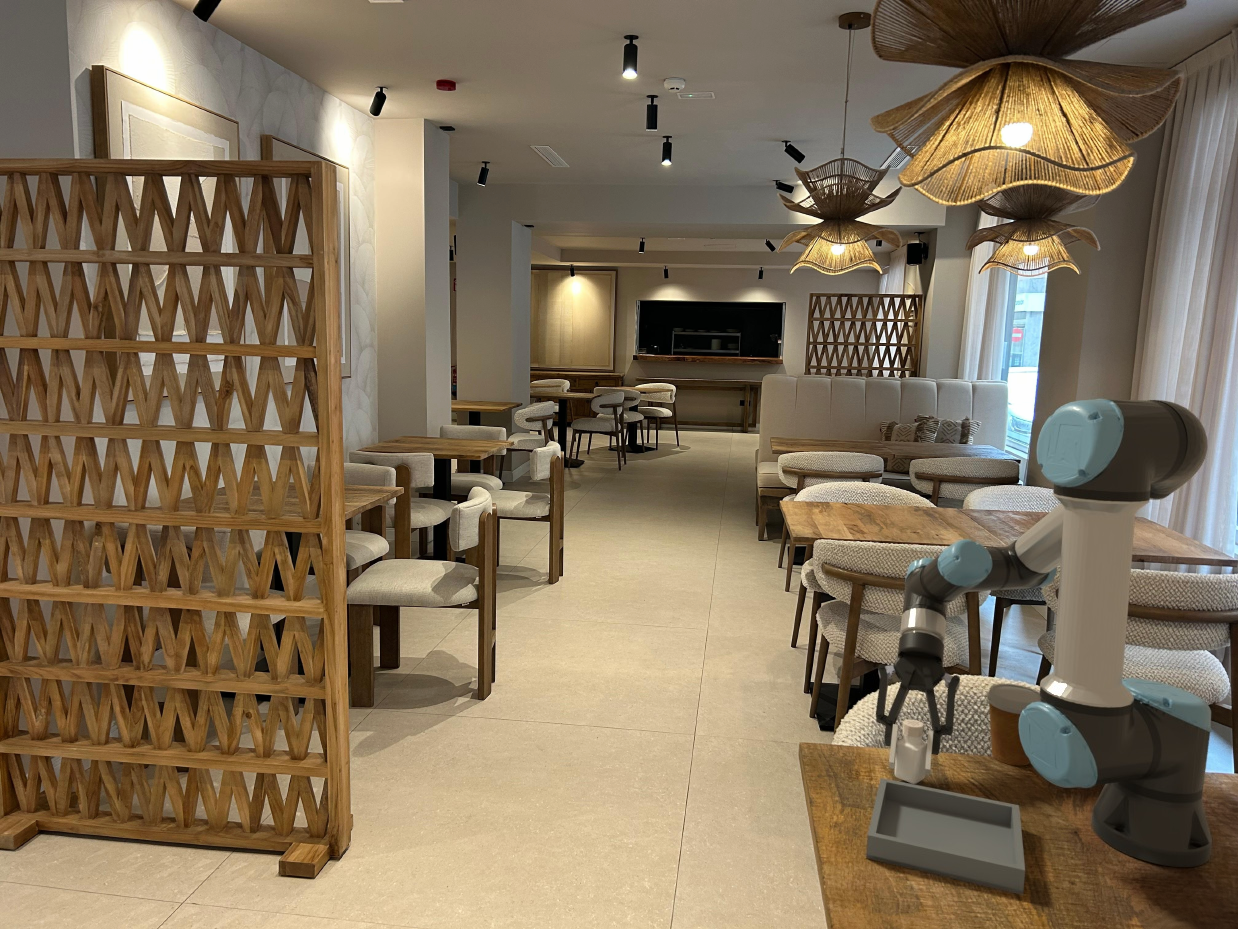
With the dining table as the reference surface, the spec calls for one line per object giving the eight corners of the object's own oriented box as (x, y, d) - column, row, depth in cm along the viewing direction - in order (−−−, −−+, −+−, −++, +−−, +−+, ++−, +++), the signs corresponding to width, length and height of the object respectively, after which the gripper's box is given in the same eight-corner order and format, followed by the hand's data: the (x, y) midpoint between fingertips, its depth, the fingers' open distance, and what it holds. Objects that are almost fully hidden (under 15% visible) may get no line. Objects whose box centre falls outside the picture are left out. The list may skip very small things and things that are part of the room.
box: (1017, 827, 130) (1018, 805, 129) (1022, 895, 113) (1025, 870, 113) (879, 798, 137) (880, 778, 137) (866, 858, 121) (867, 835, 120)
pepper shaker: (892, 777, 143) (896, 722, 142) (904, 769, 146) (908, 716, 145) (914, 786, 140) (918, 730, 139) (927, 778, 143) (930, 723, 142)
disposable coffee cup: (1047, 773, 147) (1053, 706, 146) (988, 766, 149) (993, 700, 147) (1032, 748, 156) (1038, 685, 155) (976, 742, 158) (982, 680, 157)
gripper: (975, 657, 152) (967, 788, 139) (870, 643, 158) (853, 766, 145) (977, 637, 146) (970, 771, 133) (868, 623, 153) (851, 749, 140)
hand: (909, 768), depth 139 cm, fingers closed on pepper shaker, 5 cm apart
